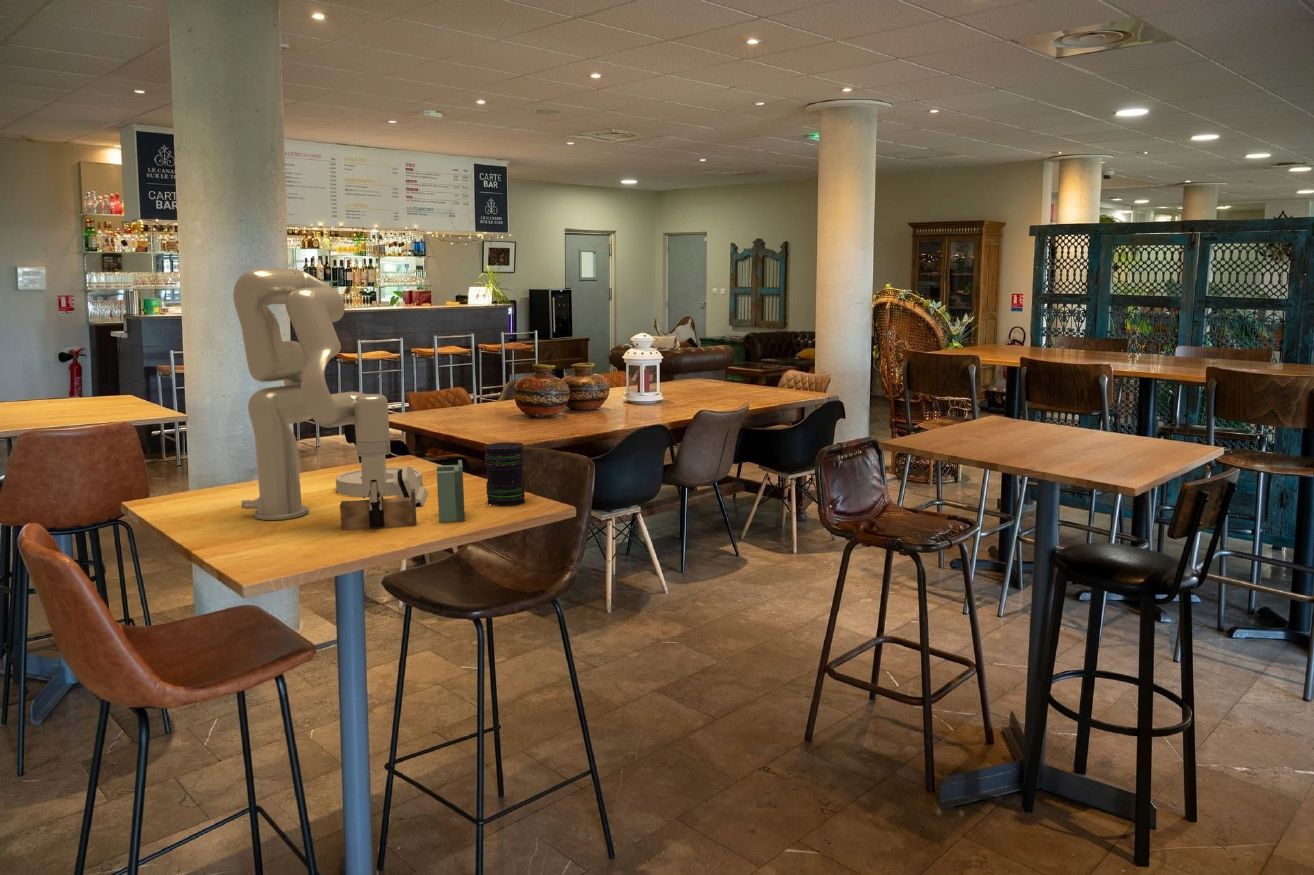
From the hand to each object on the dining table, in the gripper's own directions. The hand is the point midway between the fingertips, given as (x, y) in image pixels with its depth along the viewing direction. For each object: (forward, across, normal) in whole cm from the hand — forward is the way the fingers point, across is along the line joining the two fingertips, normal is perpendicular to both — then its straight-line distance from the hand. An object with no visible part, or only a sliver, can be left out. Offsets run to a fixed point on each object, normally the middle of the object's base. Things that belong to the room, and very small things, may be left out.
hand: (377, 523), depth 228 cm
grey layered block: (+1, -26, +7) cm, 27 cm away
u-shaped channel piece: (0, -4, +17) cm, 18 cm away
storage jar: (+1, -17, +31) cm, 35 cm away
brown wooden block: (0, 0, 0) cm, 0 cm away
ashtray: (+1, -45, -2) cm, 45 cm away
